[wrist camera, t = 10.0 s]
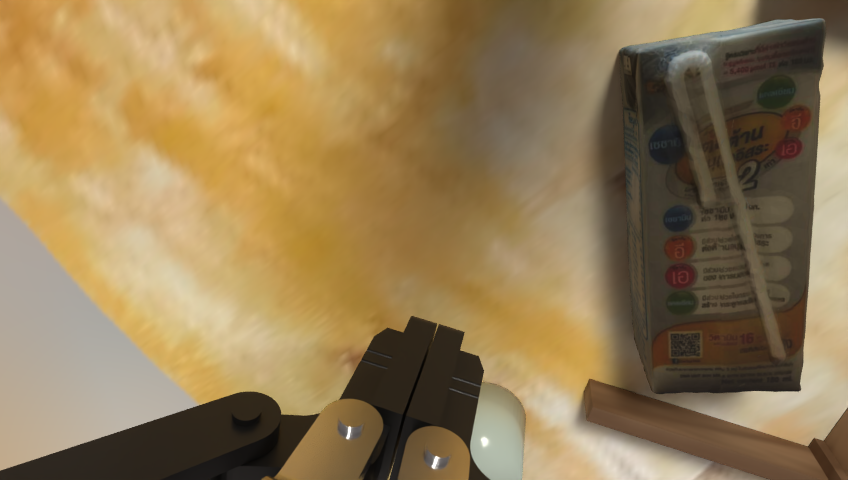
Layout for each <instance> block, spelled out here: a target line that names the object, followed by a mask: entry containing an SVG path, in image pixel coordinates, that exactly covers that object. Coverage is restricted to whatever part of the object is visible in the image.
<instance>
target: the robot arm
mask: <svg viewBox="0 0 848 480" xmlns="http://www.w3.org/2000/svg"><path fill="white" fill-rule="evenodd" d="M436 327H437V323H433V322H430V321H427V320H424V319H420V318H417V317H414V316H411V318H410V320H409V322H408V324H407V326H406V328H405V331H404V333H403V332H399V331H396V330H393V329H390V328H387V329H385V330H383V331H382V332H380V333H379V334H377V335H376V336H374V338H373V340H372V341H371V343H370V345H369V347H368V349H367V351H366V352H365V354H364V356H363V358H362V360H361V361H360V363H359V365H358V367H357V369H356V370H355V372H354V374H353V376H352V378H351V379H350V381H349V383H348V385H347V387H346V389H345V390H344V392H343V394H342V396H341V398H340V399H339V400H337V401H335V402H332V403H331V404H329V405H328V406H326V407H325V408H324V409H323V411H322V412H321V413H319V414H315V415H308V416H299V415H281V410H280V407H279V405H278V404H277V403H276V401H275V400H273V399H272V398H271V397H269V396H267V395H265V394H262V393H258V392H240V393H236V394H233V395H230V396H227V397H224V398H220V399H217V400H214V401H211V402H208V403H205V404H202V405H199V406H196V407H193V408H190V409H187V410H184V411H181V412H178V413H175V414H172V415H169V416H166V417H163V418H160V419H157V420H153V421H151V422H147V423H144V424H141V425H138V426H135V427H132V428H129V429H126V430H123V431H120V432H117V433H114V434H111V435H108V436H105V437H102V438H99V439H96V440H93V441H90V442H87V443H84V444H80V445H77V446H74V447H71V448H68V449H65V450H62V451H59V452H56V453H53V454H50V455H47V456H44V457H41V458H38V459H35V460H32V461H29V462H26V463H23V464H20V465H17V466H13V467H10V468H7V469H4V470H1V471H0V480H387V479H388V477H389V474H390V471H391V468H392V465H393V468H392V472H391V476H390V480H490V479H489V478H488V477H487V476H485V475H484V474H483V473H482V472H481V470H480V469H479V468H478V467H477V465H476V463H475V462H474V460H473V457H472V454H471V449H470V443H471V437H472V432H473V426H474V421H475V416H476V410H477V405H478V400H479V394H480V389H481V384H482V378H483V373H484V370H483V367H482V364H481V362H480V359H479V356H476V355H473V354H470V353H467V352H464V351H460V347H461V344H462V340H463V336H464V333H465V332H463V331H460V330H456V329H453V328H450V327H447V326H443V325H440V324H439V326H438V329H437V331H436ZM435 331H436V334H435ZM434 335H435V337H434ZM433 338H434V340H433ZM393 462H394V464H393Z"/></svg>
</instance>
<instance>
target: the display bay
mask: <svg viewBox="0 0 848 480" xmlns="http://www.w3.org/2000/svg"><path fill="white" fill-rule="evenodd" d="M584 397H585V408H586V419H587V421H590V422H593V423H596V424H599V425H602V426H605V427H608V428H611V429H614V430H618V431H621V432H624V433H627V434H630V435H633V436H636V437H639V438H642V439H646V440H649V441H652V442H655V443H658V444H661V445H664V446H667V447H670V448H674V449H677V450H680V451H683V452H686V453H689V454H692V455H695V456H698V457H702V458H705V459H708V460H711V461H714V462H717V463H720V464H723V465H726V466H730V467H733V468H736V469H739V470H742V471H745V472H748V473H751V474H754V475H757V476H761V477H764V478H767V479H770V480H848V409H847V410H846V412H845V413H844V414H843V416H842V417H841V418H840V420H839V421H838V423H837V424H836V425H835V427H834V428H833V429H832V431H831V432H830V434H829V435H828V436H827V438H826V439H825V440H824V441H822V440H819V439H815V438H814V440H813V441H812V442H811V444H810V445H809V447H807V446H804V445H801V444H797V443H794V442H791V441H788V440H785V439H781V438H778V437H775V436H772V435H769V434H765V433H762V432H759V431H756V430H752V429H749V428H746V427H743V426H740V425H736V424H733V423H730V422H727V421H724V420H720V419H717V418H714V417H711V416H707V415H704V414H701V413H698V412H695V411H691V410H688V409H685V408H682V407H679V406H675V405H672V404H669V403H666V402H662V401H659V400H656V399H653V398H650V397H646V396H643V395H640V394H637V393H634V392H630V391H627V390H624V389H621V388H617V387H614V386H611V385H608V384H605V383H601V382H598V381H595V380H592V379H589V381H588V384H587V386H586V388H585V391H584Z"/></svg>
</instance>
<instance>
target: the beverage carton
mask: <svg viewBox="0 0 848 480" xmlns="http://www.w3.org/2000/svg"><path fill="white" fill-rule="evenodd" d="M825 37H826V22H825V20H824V19H821V18H817V19H806V20H792V19H788V20H773V21H769V22H765V23H760V24H756V25H752V26H748V27H743V28H738V29H733V30H728V31H720V32H711V33H706V34H700V35H693V36H689V37H683V38H676V39H670V40H664V41H659V42H653V43H646V44H640V45H631V46H627V47H624V48H622V49H621V50H620V52H619V54H620V74H621V89H622V101H623V123H624V150H625V176H626V202H627V233H628V258H629V275H630V293H631V308H632V317H633V328H634V340H635V342H636V346H637V349H638V351H639V355H640V358H641V361H642V364H643V366H644V371H645V373H646V376H647V379H648V382H649V384H650V387H651V390H652V391H653V392H654V393H657V394H664V393H682V392H693V393H700V392H710V393H727V392H742V391H774V392H779V391H800V390H801V386H800V379H801V372H802V367H803V347H804V338H805V327H806V310H807V298H808V286H809V269H810V252H811V238H812V225H813V212H814V190H815V176H816V161H817V146H818V128H819V110H820V92H819V80H820V77H821V74H822V70H823V66H824V64H823V58H822V57H823V48H824V42H825Z"/></svg>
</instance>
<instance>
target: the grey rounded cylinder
mask: <svg viewBox="0 0 848 480" xmlns="http://www.w3.org/2000/svg"><path fill="white" fill-rule="evenodd" d="M525 424H526V414H525V410H524V408H523V405H522V404H521V402H520V401H519V399H518V398H517V397H516V396H515V395H514V394H513V393H511V392H510V391H509V390H507V389H505V388H503V387H501V386H499V385H496V384H492V383H485V382H482V384H481V389H480V394H479V400H478V405H477V410H476V416H475V421H474V426H473V432H472V437H471V443H470V449H471V454H472V457H473V460H474V462H475V463H476V465H477V467H478V468H479V469H480V470H481V472H482V473H483V474H484V475H485V476H487V477H488V478H489V479H490V480H522V472H523V456H524V440H525Z"/></svg>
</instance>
